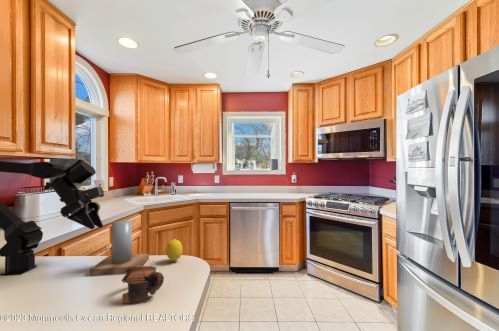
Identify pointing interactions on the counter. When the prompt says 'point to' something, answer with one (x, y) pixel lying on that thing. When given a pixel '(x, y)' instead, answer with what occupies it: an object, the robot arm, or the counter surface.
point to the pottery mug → (141, 283)
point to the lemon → (174, 250)
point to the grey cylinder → (121, 242)
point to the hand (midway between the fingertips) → (97, 227)
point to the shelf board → (118, 265)
